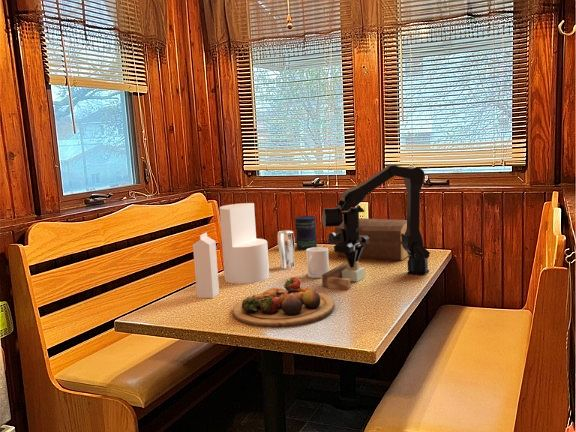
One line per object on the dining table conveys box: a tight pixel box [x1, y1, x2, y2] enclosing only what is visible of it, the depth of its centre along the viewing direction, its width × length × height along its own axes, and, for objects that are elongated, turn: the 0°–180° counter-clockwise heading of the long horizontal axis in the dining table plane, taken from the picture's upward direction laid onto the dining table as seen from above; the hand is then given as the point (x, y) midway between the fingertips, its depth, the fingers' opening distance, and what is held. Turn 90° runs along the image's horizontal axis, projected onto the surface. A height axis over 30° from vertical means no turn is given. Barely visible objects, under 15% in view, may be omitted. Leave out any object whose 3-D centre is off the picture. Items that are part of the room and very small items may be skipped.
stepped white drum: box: [219, 202, 270, 285], centre depth 217 cm, size 17×17×28 cm
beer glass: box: [277, 229, 296, 270], centre depth 230 cm, size 7×7×15 cm
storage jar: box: [294, 215, 318, 251], centre depth 266 cm, size 10×10×15 cm
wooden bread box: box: [334, 217, 410, 261], centre depth 244 cm, size 18×30×16 cm, turn 60°
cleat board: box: [321, 261, 352, 291], centre depth 206 cm, size 10×22×4 cm, turn 149°
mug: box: [305, 246, 330, 279], centre depth 214 cm, size 12×8×10 cm
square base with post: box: [342, 260, 366, 283], centre depth 208 cm, size 6×7×6 cm
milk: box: [192, 231, 220, 299], centre depth 196 cm, size 6×6×22 cm
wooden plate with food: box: [232, 276, 336, 329], centre depth 176 cm, size 32×32×8 cm
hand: (353, 266), depth 207 cm, fingers closed on square base with post
